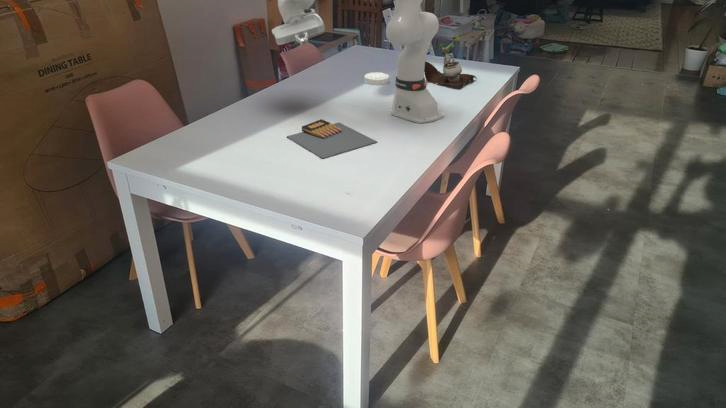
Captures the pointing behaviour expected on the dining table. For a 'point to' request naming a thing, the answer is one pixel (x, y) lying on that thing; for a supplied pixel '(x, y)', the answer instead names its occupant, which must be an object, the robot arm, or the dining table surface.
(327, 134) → the ammunition clip
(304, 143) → the slate mat
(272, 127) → the dining table surface
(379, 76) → the mooncake
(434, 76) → the potted plant
